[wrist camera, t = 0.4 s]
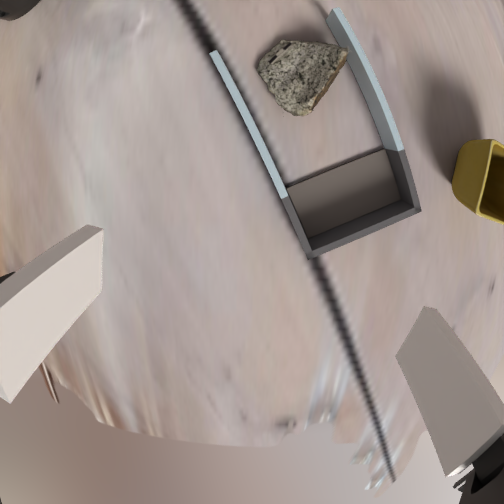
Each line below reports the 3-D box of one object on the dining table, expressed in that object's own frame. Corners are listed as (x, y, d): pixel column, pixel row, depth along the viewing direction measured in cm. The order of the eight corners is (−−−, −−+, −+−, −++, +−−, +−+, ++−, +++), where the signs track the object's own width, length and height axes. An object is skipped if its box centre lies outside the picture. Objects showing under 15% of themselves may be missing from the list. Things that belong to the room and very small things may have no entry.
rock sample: (268, 7, 23) (323, 36, 19) (318, 28, 27) (370, 60, 24) (231, 85, 30) (271, 127, 27) (281, 93, 35) (322, 133, 31)
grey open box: (279, 191, 34) (281, 198, 31) (389, 146, 31) (404, 149, 28) (303, 246, 37) (307, 259, 33) (407, 202, 34) (421, 211, 30)
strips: (215, 61, 28) (209, 53, 25) (331, 18, 26) (339, 7, 22) (279, 191, 34) (281, 198, 31) (389, 146, 31) (404, 149, 28)
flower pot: (436, 194, 33) (475, 214, 25) (449, 132, 30) (492, 137, 22) (479, 209, 34) (517, 231, 25) (492, 153, 30) (534, 164, 22)
